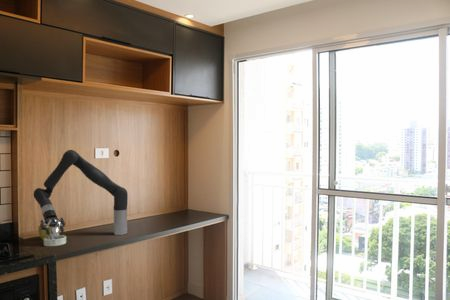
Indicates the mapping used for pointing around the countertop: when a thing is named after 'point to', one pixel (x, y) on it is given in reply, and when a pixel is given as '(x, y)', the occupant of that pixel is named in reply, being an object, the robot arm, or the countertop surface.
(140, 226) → the countertop surface
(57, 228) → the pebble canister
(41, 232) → the flower pot
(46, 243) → the bowl
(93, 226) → the countertop surface
